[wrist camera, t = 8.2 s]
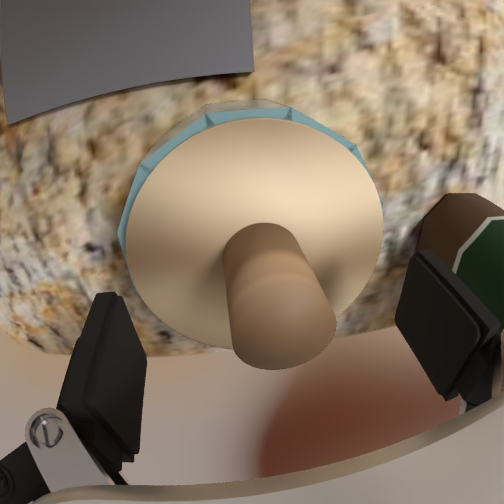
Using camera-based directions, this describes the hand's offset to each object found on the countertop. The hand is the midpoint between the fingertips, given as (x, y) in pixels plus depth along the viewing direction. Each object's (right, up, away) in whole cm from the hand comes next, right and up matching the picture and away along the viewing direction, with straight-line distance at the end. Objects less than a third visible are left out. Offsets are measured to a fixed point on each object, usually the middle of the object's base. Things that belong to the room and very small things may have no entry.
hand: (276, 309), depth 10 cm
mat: (-8, +16, 0) cm, 18 cm away
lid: (0, +2, +3) cm, 4 cm away
